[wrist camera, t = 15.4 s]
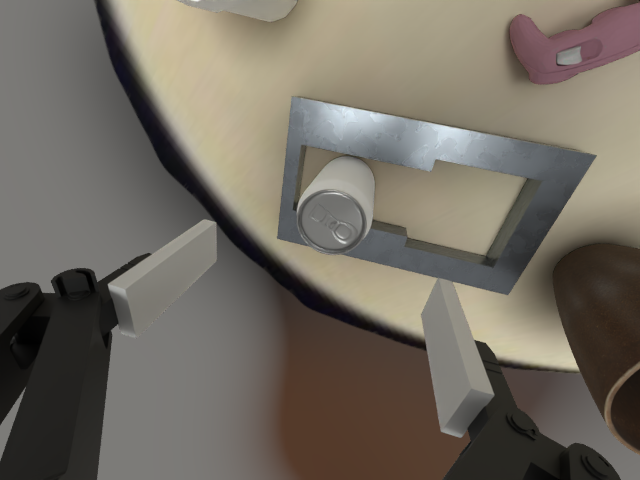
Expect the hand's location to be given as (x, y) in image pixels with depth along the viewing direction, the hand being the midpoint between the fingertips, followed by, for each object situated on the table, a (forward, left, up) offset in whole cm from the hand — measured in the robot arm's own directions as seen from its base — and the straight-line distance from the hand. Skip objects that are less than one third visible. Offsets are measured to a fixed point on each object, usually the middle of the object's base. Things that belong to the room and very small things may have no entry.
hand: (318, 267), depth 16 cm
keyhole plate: (-7, 0, -18) cm, 20 cm away
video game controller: (-15, -17, -19) cm, 29 cm away
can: (0, 0, -19) cm, 19 cm away
